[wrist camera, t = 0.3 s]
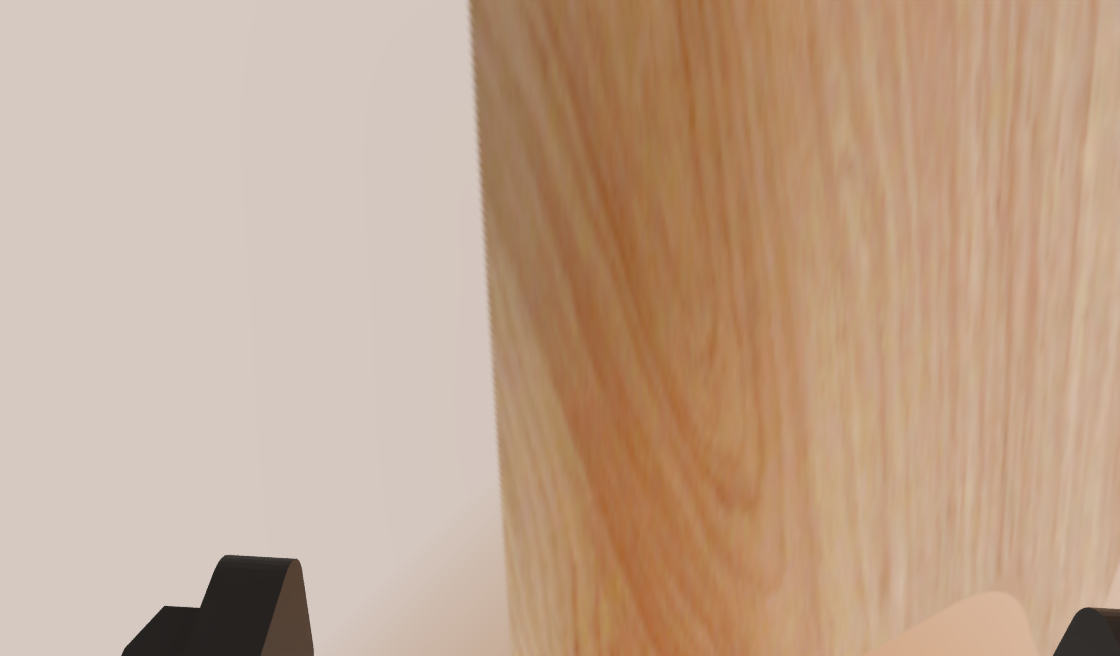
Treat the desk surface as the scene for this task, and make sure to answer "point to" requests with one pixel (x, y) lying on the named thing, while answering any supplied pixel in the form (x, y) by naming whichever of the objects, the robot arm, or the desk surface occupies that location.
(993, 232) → the desk surface
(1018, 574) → the desk surface
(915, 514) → the desk surface
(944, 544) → the desk surface
